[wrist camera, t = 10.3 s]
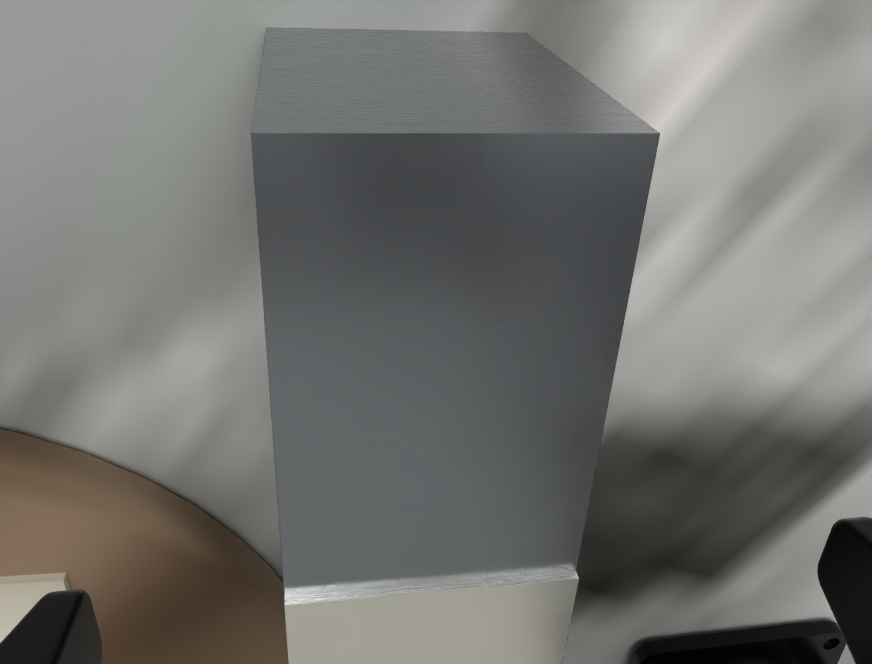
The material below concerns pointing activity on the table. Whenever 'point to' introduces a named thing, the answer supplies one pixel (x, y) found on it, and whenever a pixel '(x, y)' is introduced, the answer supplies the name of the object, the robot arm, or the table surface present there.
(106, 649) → the dial
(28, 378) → the table surface
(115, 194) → the table surface
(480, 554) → the brushed steel bar
